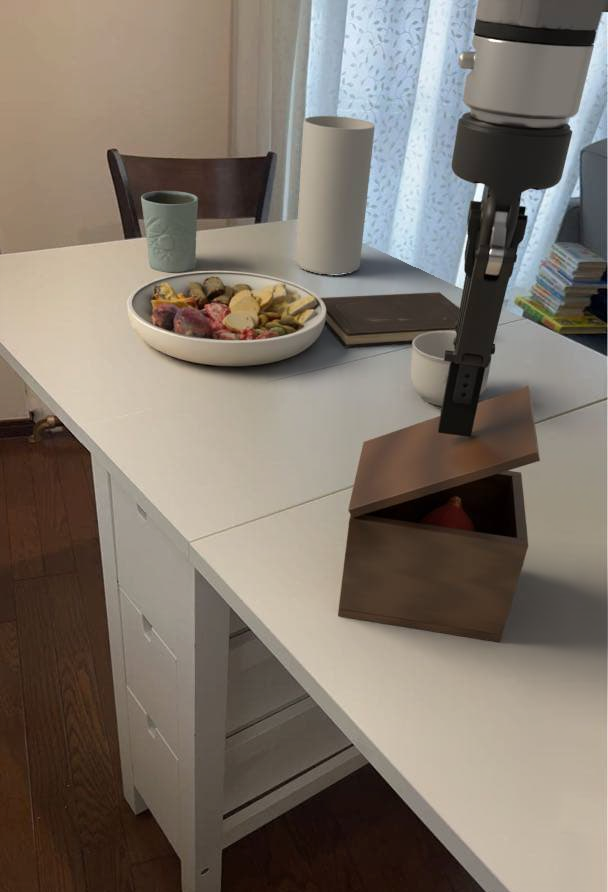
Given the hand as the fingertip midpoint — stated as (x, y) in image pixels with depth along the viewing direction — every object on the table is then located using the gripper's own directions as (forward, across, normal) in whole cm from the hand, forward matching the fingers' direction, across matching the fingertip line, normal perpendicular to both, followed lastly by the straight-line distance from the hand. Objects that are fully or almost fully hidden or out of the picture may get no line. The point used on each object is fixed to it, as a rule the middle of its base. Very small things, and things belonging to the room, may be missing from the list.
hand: (454, 430), depth 67 cm
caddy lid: (+2, 0, -1) cm, 2 cm away
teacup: (+18, -44, +2) cm, 47 cm away
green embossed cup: (+17, -84, -51) cm, 100 cm away
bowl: (+17, -55, -33) cm, 66 cm away
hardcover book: (+18, -68, -8) cm, 71 cm away
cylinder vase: (+18, -94, -23) cm, 98 cm away
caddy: (+17, 0, 0) cm, 17 cm away
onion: (+16, 0, +1) cm, 16 cm away
